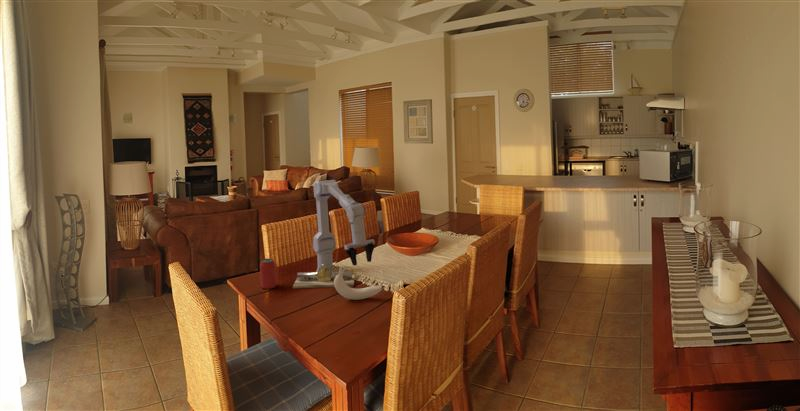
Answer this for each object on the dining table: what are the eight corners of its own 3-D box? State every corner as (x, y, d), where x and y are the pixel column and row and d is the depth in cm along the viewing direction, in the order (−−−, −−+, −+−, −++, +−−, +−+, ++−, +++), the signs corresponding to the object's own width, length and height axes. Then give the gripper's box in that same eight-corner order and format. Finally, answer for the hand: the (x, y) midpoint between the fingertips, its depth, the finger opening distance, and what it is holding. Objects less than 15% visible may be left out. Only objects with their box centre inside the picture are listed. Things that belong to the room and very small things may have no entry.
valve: (299, 278, 215) (298, 266, 214) (352, 277, 216) (351, 264, 215) (297, 282, 210) (296, 269, 209) (351, 280, 211) (351, 268, 210)
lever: (322, 266, 213) (321, 263, 213) (327, 266, 213) (327, 262, 213) (318, 276, 200) (317, 272, 200) (323, 276, 200) (323, 272, 200)
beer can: (278, 284, 212) (277, 258, 209) (273, 289, 205) (271, 262, 203) (264, 283, 212) (262, 257, 210) (258, 289, 206) (256, 262, 204)
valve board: (298, 277, 220) (298, 275, 220) (355, 276, 221) (355, 273, 221) (293, 288, 206) (292, 285, 206) (353, 286, 207) (353, 284, 207)
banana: (382, 300, 192) (381, 265, 189) (335, 303, 188) (333, 268, 186) (381, 295, 196) (380, 261, 194) (334, 299, 193) (333, 264, 190)
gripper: (349, 235, 197) (353, 267, 198) (377, 229, 206) (381, 260, 207) (340, 234, 202) (344, 266, 203) (367, 229, 211) (371, 259, 212)
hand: (362, 263), depth 205 cm, fingers open, 7 cm apart
